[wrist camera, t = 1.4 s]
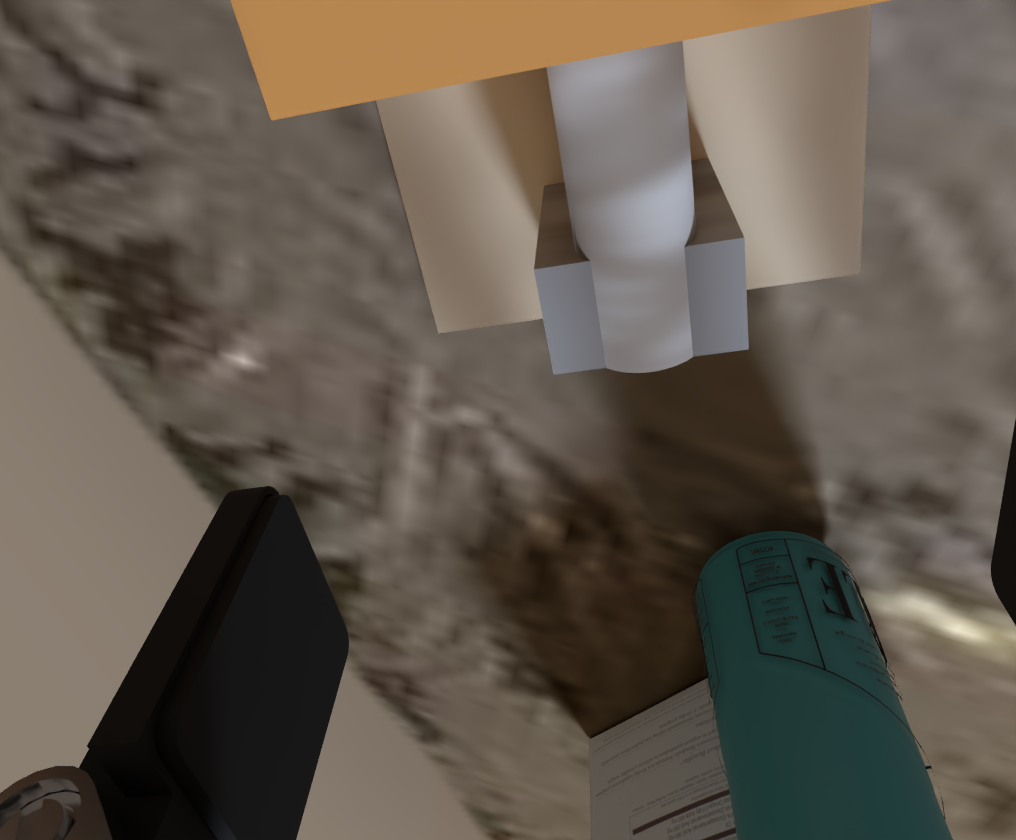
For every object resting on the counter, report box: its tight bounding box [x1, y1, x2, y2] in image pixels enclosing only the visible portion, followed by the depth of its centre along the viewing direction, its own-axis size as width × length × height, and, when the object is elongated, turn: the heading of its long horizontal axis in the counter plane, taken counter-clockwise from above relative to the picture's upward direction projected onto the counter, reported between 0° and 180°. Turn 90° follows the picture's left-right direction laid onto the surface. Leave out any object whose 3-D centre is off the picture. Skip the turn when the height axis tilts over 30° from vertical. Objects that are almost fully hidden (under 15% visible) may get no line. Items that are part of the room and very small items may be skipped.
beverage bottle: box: [692, 531, 953, 840], centre depth 27 cm, size 6×7×20 cm
